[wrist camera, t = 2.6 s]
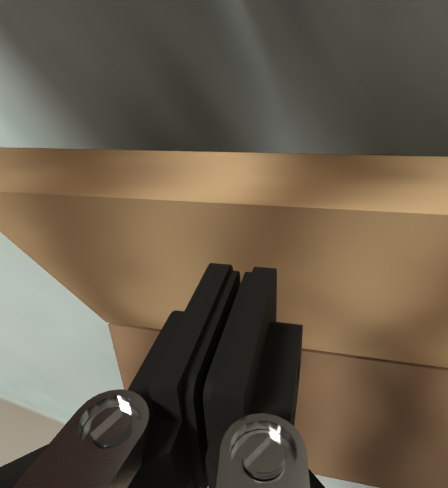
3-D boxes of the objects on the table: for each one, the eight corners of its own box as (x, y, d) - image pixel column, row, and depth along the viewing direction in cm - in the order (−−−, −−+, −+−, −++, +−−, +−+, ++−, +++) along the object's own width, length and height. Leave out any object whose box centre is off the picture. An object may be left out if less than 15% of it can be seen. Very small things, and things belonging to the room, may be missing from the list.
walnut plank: (494, 349, 20) (506, 378, 18) (450, 471, 25) (457, 503, 23) (123, 304, 25) (108, 324, 23) (147, 414, 30) (136, 437, 28)
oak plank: (723, 162, 9) (759, 230, 8) (503, 337, 19) (509, 376, 18) (-23, 147, 14) (-50, 189, 13) (116, 292, 24) (106, 322, 23)
